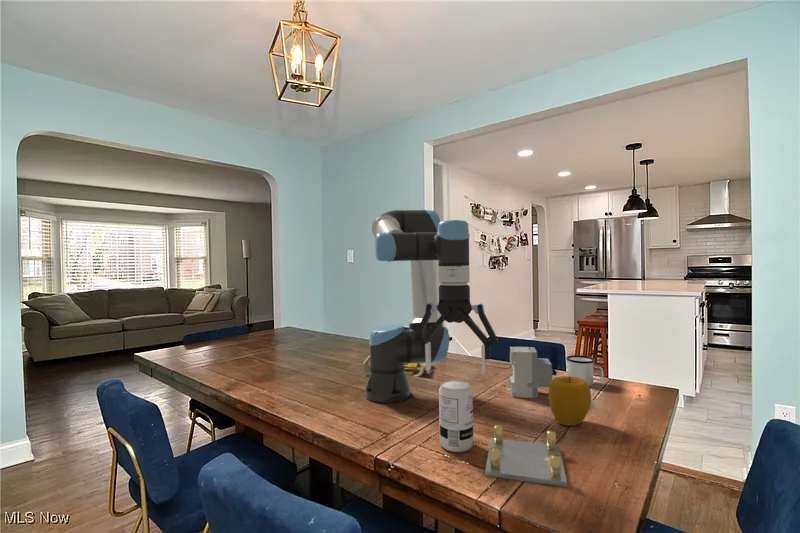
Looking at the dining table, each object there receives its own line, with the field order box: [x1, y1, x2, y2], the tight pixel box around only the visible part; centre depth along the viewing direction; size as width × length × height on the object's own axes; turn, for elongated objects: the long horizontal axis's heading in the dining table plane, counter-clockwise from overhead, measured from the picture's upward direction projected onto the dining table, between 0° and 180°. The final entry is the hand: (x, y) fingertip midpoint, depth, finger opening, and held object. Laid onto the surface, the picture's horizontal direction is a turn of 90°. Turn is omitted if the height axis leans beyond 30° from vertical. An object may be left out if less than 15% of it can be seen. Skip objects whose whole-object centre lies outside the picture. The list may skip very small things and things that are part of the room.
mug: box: [565, 354, 604, 387], centre depth 143 cm, size 12×10×9 cm
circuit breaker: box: [509, 346, 557, 399], centre depth 133 cm, size 8×14×15 cm, turn 78°
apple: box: [548, 375, 592, 427], centre depth 109 cm, size 11×11×13 cm
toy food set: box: [361, 354, 426, 378], centre depth 165 cm, size 25×18×8 cm
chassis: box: [484, 424, 568, 488], centre depth 89 cm, size 16×16×5 cm
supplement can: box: [438, 379, 474, 453], centre depth 97 cm, size 8×8×15 cm
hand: (455, 371), depth 97 cm, fingers open, 13 cm apart
